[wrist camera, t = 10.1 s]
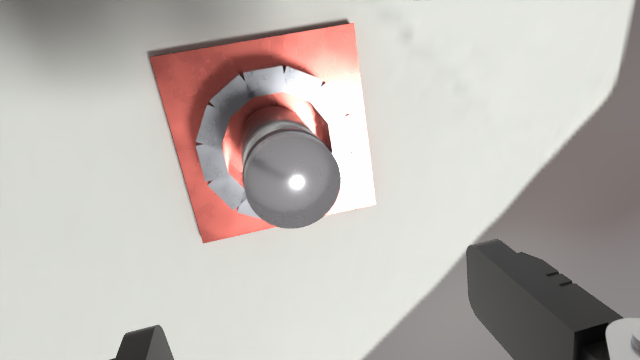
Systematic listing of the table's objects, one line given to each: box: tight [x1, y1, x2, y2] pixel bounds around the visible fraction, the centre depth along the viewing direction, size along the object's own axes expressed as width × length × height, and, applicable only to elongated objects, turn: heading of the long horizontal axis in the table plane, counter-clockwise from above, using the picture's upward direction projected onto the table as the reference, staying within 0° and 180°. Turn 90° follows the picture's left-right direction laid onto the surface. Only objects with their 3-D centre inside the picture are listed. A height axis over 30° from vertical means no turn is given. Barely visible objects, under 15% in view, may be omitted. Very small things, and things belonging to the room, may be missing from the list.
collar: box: [150, 23, 376, 243], centre depth 30 cm, size 14×14×4 cm
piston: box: [240, 106, 341, 228], centre depth 26 cm, size 5×5×10 cm
